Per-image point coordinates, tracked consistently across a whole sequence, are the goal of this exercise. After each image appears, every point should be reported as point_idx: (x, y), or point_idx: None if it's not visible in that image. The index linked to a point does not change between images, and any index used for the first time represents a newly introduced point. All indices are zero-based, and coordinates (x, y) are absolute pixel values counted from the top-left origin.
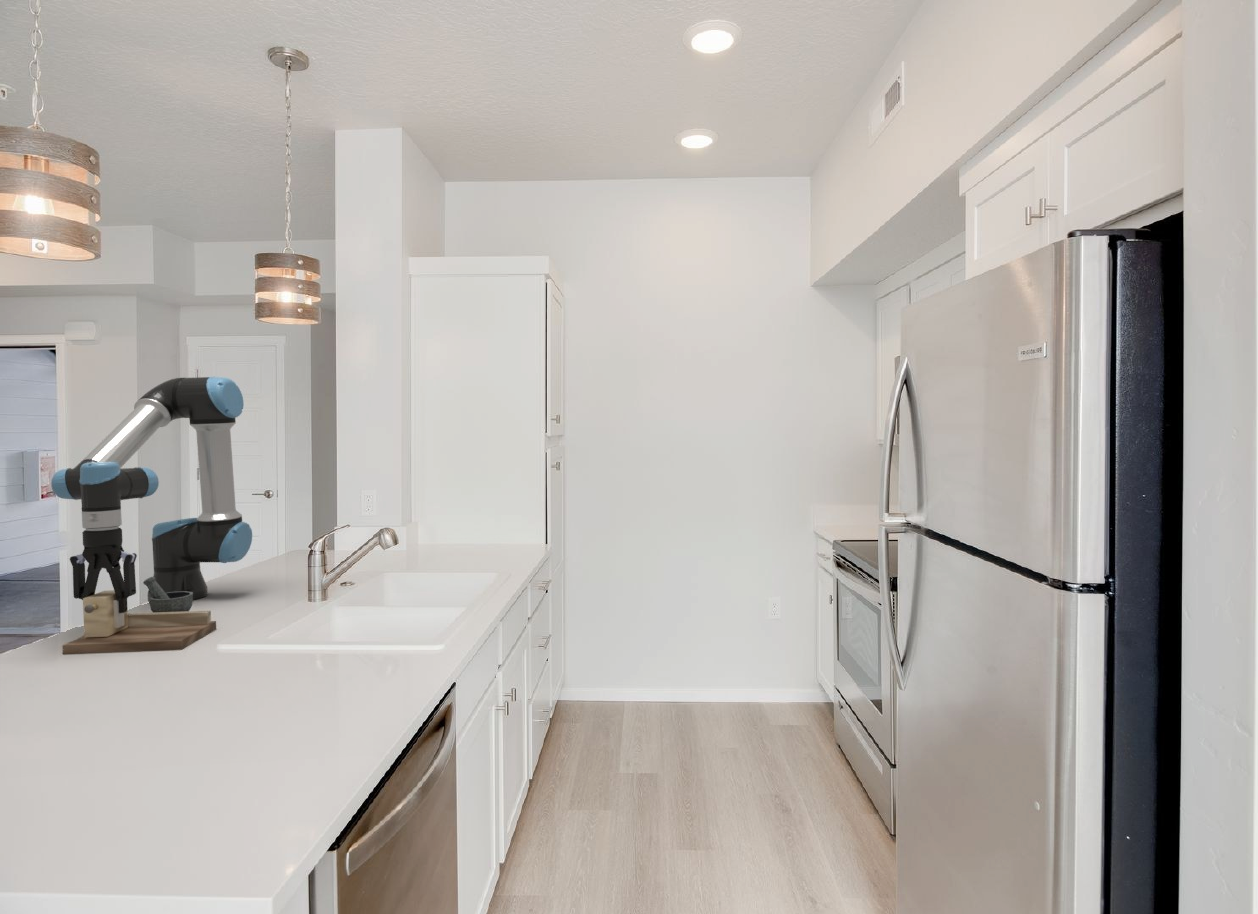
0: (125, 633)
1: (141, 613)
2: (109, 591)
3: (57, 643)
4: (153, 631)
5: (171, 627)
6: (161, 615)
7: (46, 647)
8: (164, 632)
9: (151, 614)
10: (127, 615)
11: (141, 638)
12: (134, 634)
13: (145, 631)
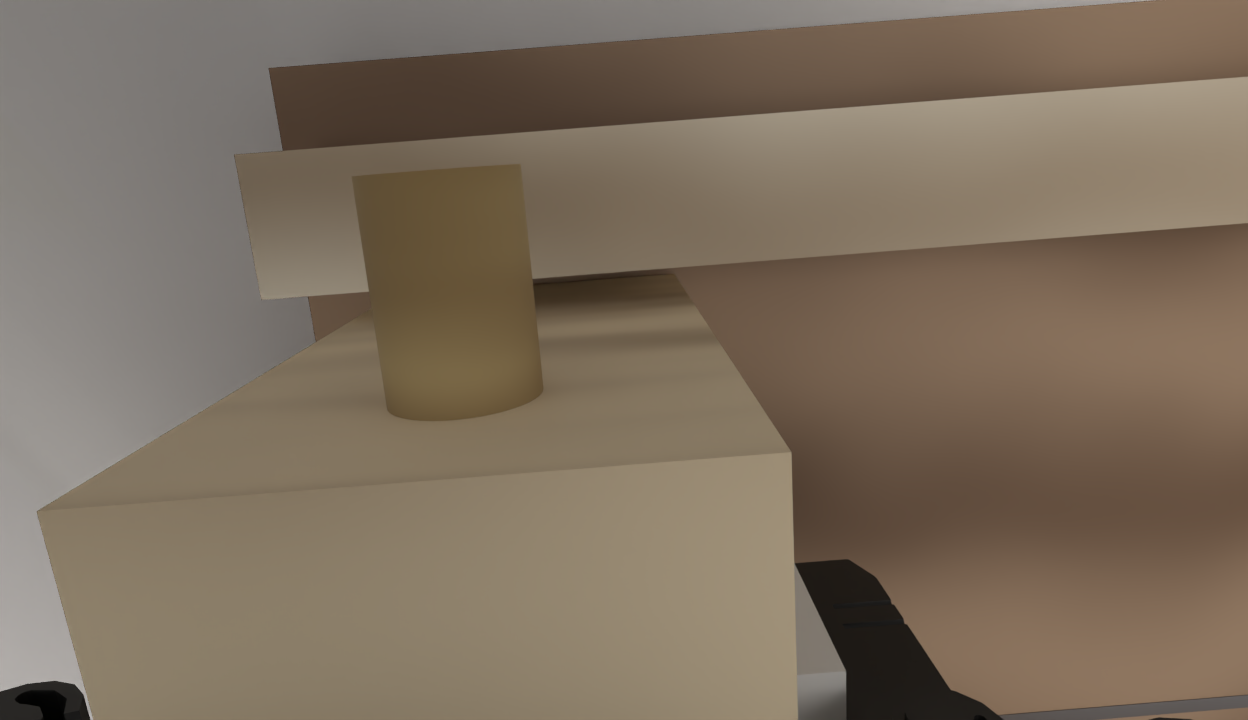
0: (793, 510)
1: (833, 141)
2: (337, 642)
3: (45, 476)
4: (1089, 445)
5: (1232, 271)
6: (1193, 222)
7: (62, 606)
8: (1242, 495)
9: (1050, 234)
10: (689, 298)
11: (1095, 711)
12: (928, 558)
13: (990, 439)
